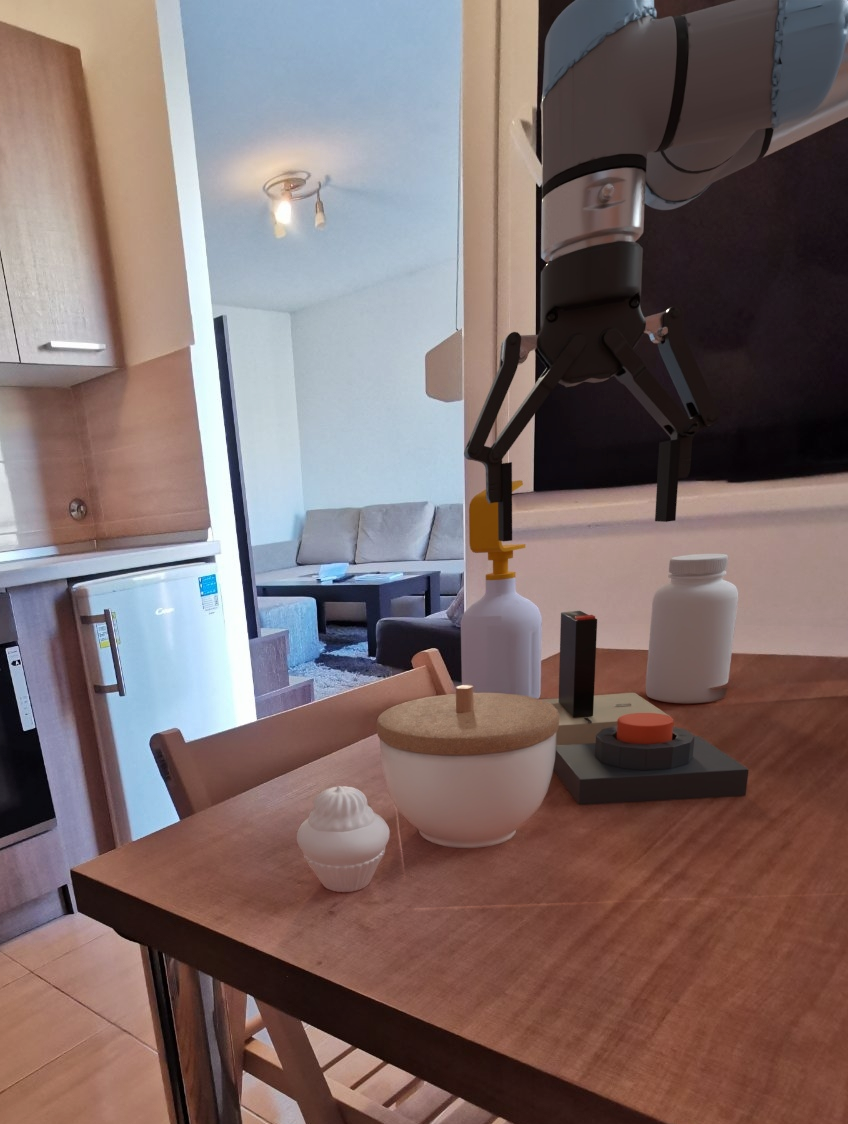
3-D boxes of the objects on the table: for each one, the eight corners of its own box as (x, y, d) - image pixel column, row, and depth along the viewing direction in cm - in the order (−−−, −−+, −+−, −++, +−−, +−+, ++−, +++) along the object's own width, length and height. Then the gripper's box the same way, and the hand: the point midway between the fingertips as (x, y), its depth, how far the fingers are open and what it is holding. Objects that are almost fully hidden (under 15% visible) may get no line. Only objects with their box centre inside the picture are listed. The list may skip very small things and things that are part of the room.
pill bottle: (725, 706, 79) (741, 557, 74) (640, 704, 84) (649, 563, 79) (729, 688, 85) (744, 549, 80) (649, 687, 90) (659, 555, 85)
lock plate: (632, 720, 79) (634, 690, 78) (669, 749, 69) (672, 715, 68) (492, 730, 81) (492, 701, 80) (510, 759, 72) (510, 727, 70)
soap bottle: (556, 695, 91) (561, 475, 83) (506, 713, 87) (507, 481, 78) (495, 687, 98) (494, 483, 90) (446, 703, 94) (440, 490, 85)
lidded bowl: (366, 859, 55) (356, 711, 51) (400, 797, 66) (393, 671, 62) (554, 870, 50) (558, 707, 46) (557, 801, 61) (561, 664, 57)
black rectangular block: (558, 702, 77) (560, 609, 74) (577, 701, 77) (580, 607, 74) (573, 717, 71) (576, 618, 68) (593, 716, 71) (597, 616, 68)
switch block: (697, 760, 66) (701, 715, 65) (745, 796, 58) (751, 746, 56) (551, 769, 68) (552, 726, 67) (579, 805, 60) (580, 757, 58)
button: (661, 731, 63) (662, 710, 62) (680, 745, 59) (681, 723, 59) (610, 734, 64) (611, 714, 63) (625, 748, 60) (626, 727, 59)
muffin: (304, 907, 49) (294, 807, 47) (298, 867, 55) (289, 776, 53) (400, 898, 49) (395, 796, 47) (383, 858, 55) (378, 766, 52)
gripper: (436, 269, 60) (446, 550, 67) (785, 205, 56) (755, 512, 63) (428, 293, 67) (437, 546, 74) (738, 238, 63) (716, 512, 70)
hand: (583, 531), depth 68 cm, fingers open, 13 cm apart
